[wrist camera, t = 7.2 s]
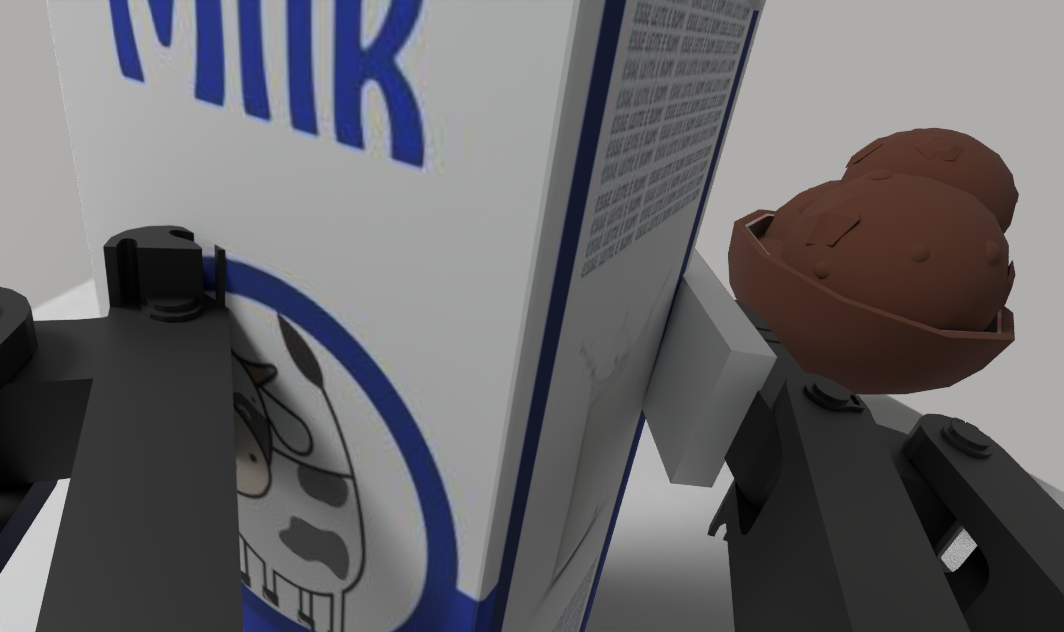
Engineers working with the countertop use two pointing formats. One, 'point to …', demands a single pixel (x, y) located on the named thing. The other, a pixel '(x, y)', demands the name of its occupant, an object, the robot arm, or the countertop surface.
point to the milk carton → (417, 270)
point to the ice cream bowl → (888, 265)
